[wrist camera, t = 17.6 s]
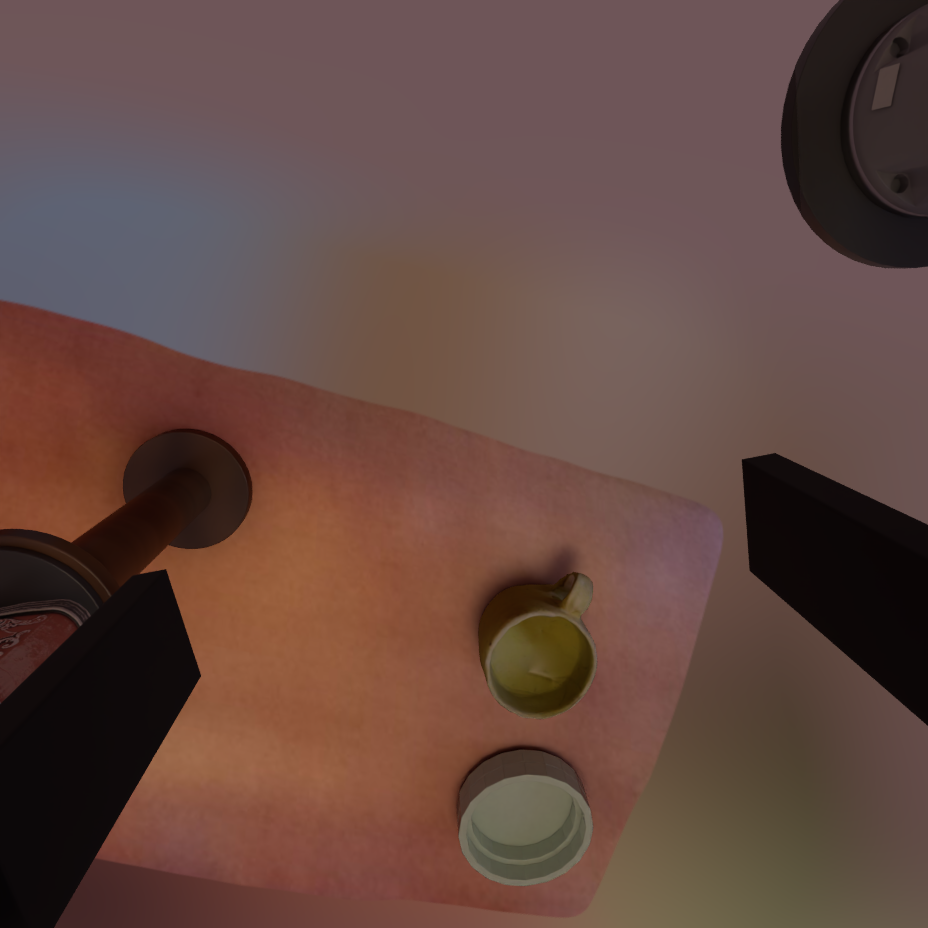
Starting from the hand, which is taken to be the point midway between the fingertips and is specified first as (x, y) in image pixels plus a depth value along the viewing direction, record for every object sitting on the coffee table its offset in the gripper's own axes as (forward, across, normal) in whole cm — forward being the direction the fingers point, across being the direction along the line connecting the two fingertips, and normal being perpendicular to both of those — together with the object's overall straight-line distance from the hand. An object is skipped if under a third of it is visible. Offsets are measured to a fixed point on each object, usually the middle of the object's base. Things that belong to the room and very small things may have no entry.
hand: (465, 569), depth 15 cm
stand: (+40, -22, -6) cm, 46 cm away
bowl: (+40, 0, -43) cm, 59 cm away
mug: (+40, +5, -23) cm, 46 cm away
